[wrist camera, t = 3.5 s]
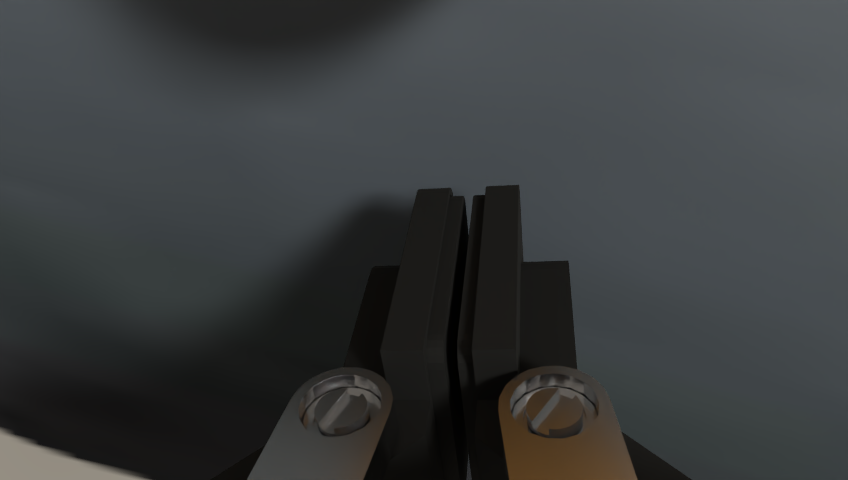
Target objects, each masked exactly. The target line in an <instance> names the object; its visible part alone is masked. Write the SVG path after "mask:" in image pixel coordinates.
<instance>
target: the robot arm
mask: <svg viewBox="0 0 848 480" xmlns="http://www.w3.org/2000/svg"><path fill="white" fill-rule="evenodd" d="M468 452H469V460H470V468H471V477H472V480H691V479H690V478H688V477H687V476H685V475H684V474H682V473H681V472H680V471H678V470H677V469H675V468H674V467H672V466H671V465H669V464H668V463H666V462H665V461H664V460H662V459H661V458H659V457H658V456H656V455H655V454H653V453H652V452H650V451H649V450H647V449H646V448H645V447H643V446H642V445H640V444H639V443H637V442H636V441H634V440H633V439H631V438H630V437H628V436H627V435H626V434H624V433H623V432H621V429H620V426H619V423H618V420H617V417H616V414H615V411H614V408H613V405H612V402H611V399H610V397H609V395H608V394H607V392H606V390H605V388H604V387H603V386H602V385H601V384H600V383H599V382H598V381H597V380H596V379H594V378H593V377H592V376H590V375H588V374H586V373H584V372H582V371H580V370H578V369H577V362H576V350H575V337H574V324H573V312H572V299H571V286H570V274H569V263H568V261H544V262H523V245H522V226H521V207H520V190H519V185H507V186H487V187H486V192H485V195H475V196H473V204H472V213H471V222H470V231H469V235H468V225H467V215H466V205H465V198H464V196H453V193H452V189H451V188H440V189H419V190H418V192H417V195H416V199H415V204H414V208H413V212H412V217H411V221H410V225H409V229H408V234H407V238H406V242H405V246H404V251H403V255H402V259H401V264H400V266H375V267H373V268H372V270H371V273H370V276H369V279H368V283H367V286H366V290H365V293H364V297H363V300H362V304H361V307H360V311H359V314H358V318H357V321H356V325H355V328H354V332H353V335H352V339H351V342H350V346H349V349H348V353H347V356H346V360H345V363H344V367H342V368H338V369H333V370H329V371H325V372H323V373H321V374H319V375H317V376H315V377H313V378H311V379H310V380H308V381H307V382H306V383H305V384H303V385H302V386H301V387H300V388H299V389H298V390H297V391H296V393H295V394H294V395H293V397H292V398H291V400H290V401H289V403H288V405H287V407H286V409H285V411H284V412H283V414H282V416H281V418H280V420H279V422H278V423H277V425H276V427H275V429H274V431H273V433H272V434H271V436H270V438H269V440H268V442H267V444H266V445H265V446H264V447H262V448H260V449H259V450H257V451H256V452H254V453H252V454H251V455H249V456H248V457H246V458H244V459H243V460H241V461H240V462H238V463H236V464H235V465H233V466H232V467H230V468H228V469H227V470H225V471H224V472H222V473H220V474H219V475H217V476H216V477H214V478H212V479H211V480H466V477H467V464H468Z"/></svg>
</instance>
